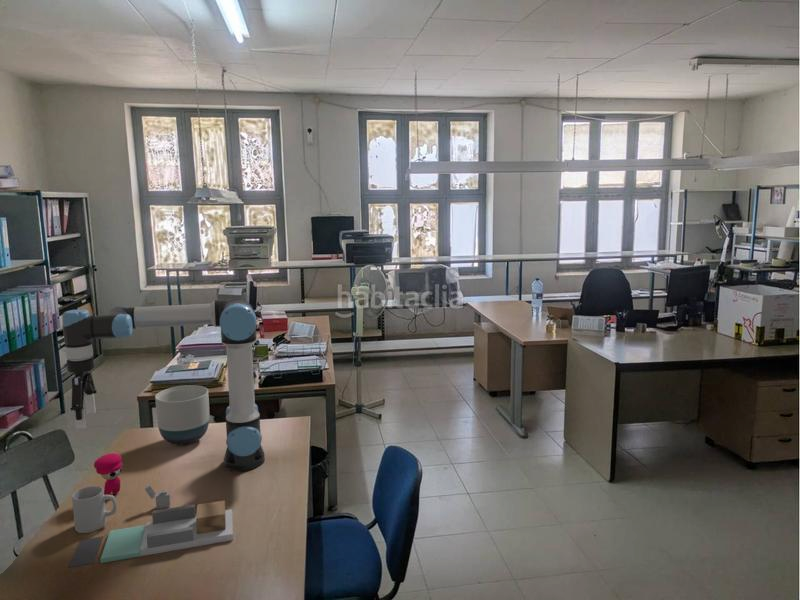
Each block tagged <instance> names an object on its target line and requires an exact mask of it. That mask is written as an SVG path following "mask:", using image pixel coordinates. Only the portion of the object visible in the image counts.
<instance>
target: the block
mask: <svg viewBox="0 0 800 600" xmlns="http://www.w3.org/2000/svg"><path fill="white" fill-rule="evenodd" d="M225 510H226V501H225V500H220V501H219V500H218V501H213V502H205V503H199V504H197V506H196V513H195V515H196V525H197V534H201V533H207V532H213V531H219V530H225V529H226V514H225Z"/></svg>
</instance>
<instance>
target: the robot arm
mask: <svg viewBox="0 0 800 600" xmlns="http://www.w3.org/2000/svg"><path fill="white" fill-rule="evenodd" d="M89 311H90V310H88V309H70V310H67V311H64V312H63V313H62V315H61V318H62V319H61V320H62V326H61V328H62V331H63V339H64V340H63V341H64V347H65V348H64V349H63V352H64V353H65V357H66V359H67V360H66V370H67V372H69V373H73V374H74V377H73V378H71V407H70V411H73V415H74V421H75V422H74V425H75V430H83V429H84V430H85V429H87V423H86V415H90V414H96V412H97V411H96V402H95V394H97V389H96V387H95V383H94V382H95V381H94V378H93V375H92V370H93V369H94V368H95V361H94V357H93V356H94V350H93V341H92V340H96V339H97V340H99V339H100V340H101V339H117V338H118V339H122V338H128V337H131V335H132V334H133V330H136V329H151V328H153V329H155V328H166V327H169V328H171V327H185V326H186V327H187V326H203V325H204V326H205V325H206V326H208V325H212V326H213V327H214V328H216V327H217V328H218V327H219V328H220V337H221V339H220V340H221V341H220V342H221V344H222V345H223V346H224V347H226V361H227V362H226V363H227V366H226V367H227V381H228V383H227V384H228V400H229V402H228V403H229V405H228V406H227V407H226V410H225V426H226V440H225V443H226V446H227V447H226V450H225V453H224V457H223V464H224V467H225V468H226V469H228V470H230V471H237V472H238V471H239V472H241V471H242V472H243V471H248V470H253V469H255V467H256V468H257V467H260V466H261V465H263V463H264V462H265V461H266V460H265V459H266V457H265V455H266V454H265V452H264V449H263V447H262V438H263V436H262V433H261V432H262V431H261V418H260V417H261V414H260V412H259V407H258V405H257V404H256V402H255V379H254V361H253V358H254V357H253V345H254V344H255V343H256V341H257V324H258V323H257V315H256V313H255V311H254V308H253V306H252V305H251V303H249V301H247V300H245V299H243V298H229V299H228V298H227V299H217V300H215V299H214V300H213V301H212V302H210V303H194V304H191V303H190V304H176V305H174V304H173V305H157V306H156V305H155V306H154V305H153V306H152V305H151V306H135V307H134V306H133V307H128V306H123V305H122V306H121V305H120V306H116V307H114V308H112V309H110V310H109V312H108V313H107V314H104V315H91V313H90V312H89ZM84 406H85V407H84ZM259 465H260V466H259Z"/></svg>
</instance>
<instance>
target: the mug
mask: <svg viewBox="0 0 800 600" xmlns="http://www.w3.org/2000/svg"><path fill="white" fill-rule="evenodd" d="M71 501H72V503H71V504H72V513H73V519H74V520H73V522H74V529H75V532H77V533H78V534H90V533H94V532H95V531H96V532H97V531H98V530H101V529H102V528H103V527H105V525H106V524H107V517H111V516H113V515H115V514H116V512H117V509H118V502H117V499H116V497H115V495H113V494H111V495H104V488H103V487H102V486H99V485H90V486H86V487H82V488H80V489H78V490H76V491H75V492H73V493H72V495H71ZM106 501H111V502H112V506H113V508H112V509H111V510H106V509H107V508H106Z"/></svg>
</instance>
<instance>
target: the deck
mask: <svg viewBox="0 0 800 600" xmlns="http://www.w3.org/2000/svg"><path fill="white" fill-rule="evenodd" d="M151 514H152V521H149V522H146V524H145V525H146V527H145V531H144V535H143V539H142V543H141V547H140V556H139V557H143V556H149V555H150V556H151V555H156V554H161V553H166V552H173V551H177V550H178V551H179V550H184V549H191V548H195V547H201V546H206V545H213V544H214V545H215V544H218V543H225V542H230V541H234V530H233V529H234V527H233V526H234V525H233V522H234V521H233V520H234V519H233V509H232V508H229V509H225V514H226V529H225V530H219V531H213V532H207V533H201V534H197V525H196V505H195V504H191V505H184V506H183V505H182V506H178V507H177V506H176V507H168V508H162V509H156V510H152V513H151Z"/></svg>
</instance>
